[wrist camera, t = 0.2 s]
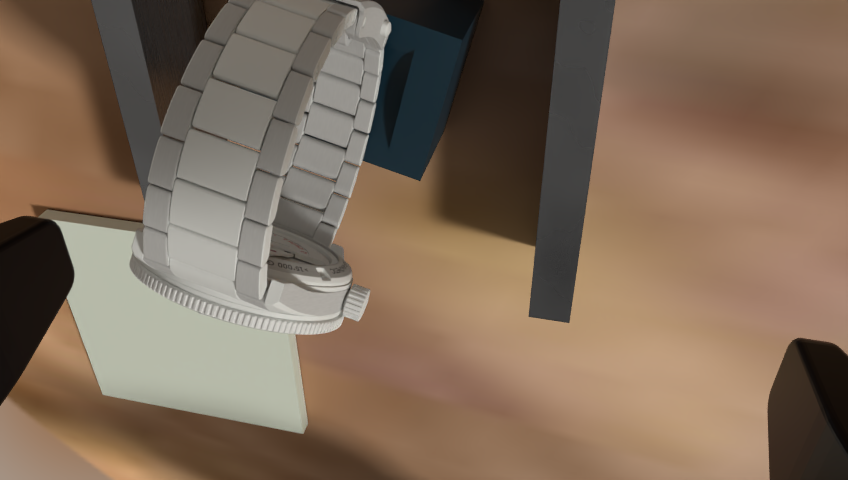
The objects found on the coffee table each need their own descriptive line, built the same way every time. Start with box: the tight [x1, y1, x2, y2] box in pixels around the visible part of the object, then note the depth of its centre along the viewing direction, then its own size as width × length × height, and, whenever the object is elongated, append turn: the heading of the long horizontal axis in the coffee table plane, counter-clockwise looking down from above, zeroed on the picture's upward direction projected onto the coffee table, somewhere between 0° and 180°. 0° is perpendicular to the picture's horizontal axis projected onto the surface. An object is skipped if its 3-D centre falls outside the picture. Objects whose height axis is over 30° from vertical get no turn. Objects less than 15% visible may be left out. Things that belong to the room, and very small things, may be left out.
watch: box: [129, 0, 484, 334], centre depth 18 cm, size 6×8×11 cm
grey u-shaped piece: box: [91, 0, 615, 323], centre depth 21 cm, size 13×13×4 cm
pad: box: [38, 210, 308, 434], centre depth 31 cm, size 10×10×1 cm
